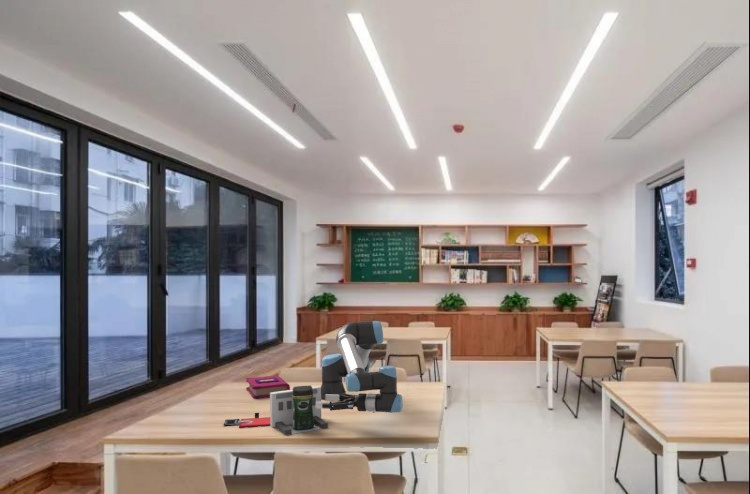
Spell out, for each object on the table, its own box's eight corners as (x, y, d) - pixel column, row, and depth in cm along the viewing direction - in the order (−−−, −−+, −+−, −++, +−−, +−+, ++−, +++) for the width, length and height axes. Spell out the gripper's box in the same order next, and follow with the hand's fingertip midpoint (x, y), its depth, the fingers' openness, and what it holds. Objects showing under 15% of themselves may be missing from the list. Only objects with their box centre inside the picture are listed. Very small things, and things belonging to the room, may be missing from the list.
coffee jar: (313, 424, 227) (312, 383, 228) (314, 429, 219) (313, 387, 220) (292, 426, 225) (291, 384, 226) (292, 431, 217) (291, 388, 218)
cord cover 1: (275, 426, 225) (275, 422, 225) (281, 425, 227) (281, 421, 227) (284, 435, 213) (284, 430, 213) (291, 434, 214) (291, 429, 214)
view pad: (286, 427, 224) (286, 426, 224) (311, 423, 230) (311, 422, 230) (294, 433, 214) (294, 433, 214) (319, 429, 220) (319, 428, 220)
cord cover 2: (310, 420, 233) (310, 416, 233) (316, 419, 235) (316, 415, 235) (321, 428, 221) (321, 424, 221) (327, 427, 222) (327, 423, 222)
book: (279, 386, 313) (279, 373, 313) (290, 395, 287) (289, 382, 287) (245, 389, 305) (245, 377, 305) (253, 399, 279) (253, 386, 279)
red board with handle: (226, 420, 238) (221, 430, 223) (226, 414, 238) (221, 424, 224) (289, 416, 243) (289, 426, 229) (289, 410, 244) (289, 420, 229)
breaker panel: (270, 425, 227) (269, 392, 228) (319, 417, 238) (318, 386, 239) (272, 427, 224) (272, 394, 225) (322, 419, 235) (321, 387, 236)
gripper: (360, 419, 204) (311, 417, 208) (373, 403, 228) (329, 402, 233) (359, 400, 204) (311, 399, 209) (373, 387, 229) (329, 386, 233)
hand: (320, 401), depth 221 cm, fingers open, 13 cm apart
